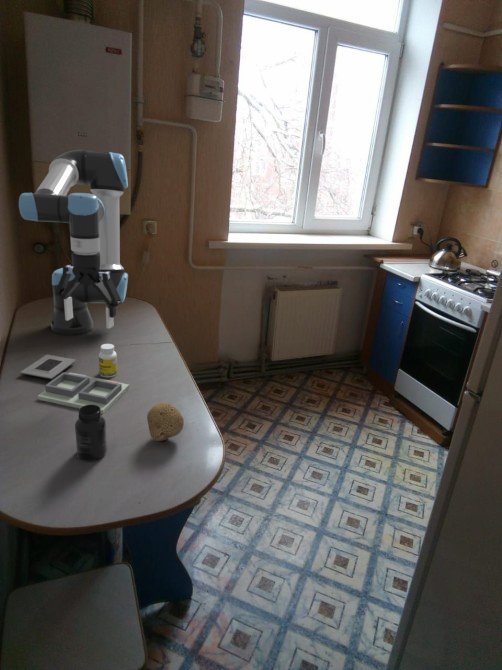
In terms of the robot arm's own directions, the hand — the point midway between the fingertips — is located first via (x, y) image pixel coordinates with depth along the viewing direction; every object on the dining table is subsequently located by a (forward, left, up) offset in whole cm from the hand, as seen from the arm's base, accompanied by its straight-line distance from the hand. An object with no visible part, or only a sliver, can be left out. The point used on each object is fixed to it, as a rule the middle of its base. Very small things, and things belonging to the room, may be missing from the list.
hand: (89, 323), depth 133 cm
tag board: (+9, +3, -18) cm, 21 cm away
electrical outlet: (+1, -15, -19) cm, 24 cm away
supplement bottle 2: (-4, +3, -19) cm, 19 cm away
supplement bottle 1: (+32, +19, -19) cm, 42 cm away
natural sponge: (+21, +33, -19) cm, 43 cm away
